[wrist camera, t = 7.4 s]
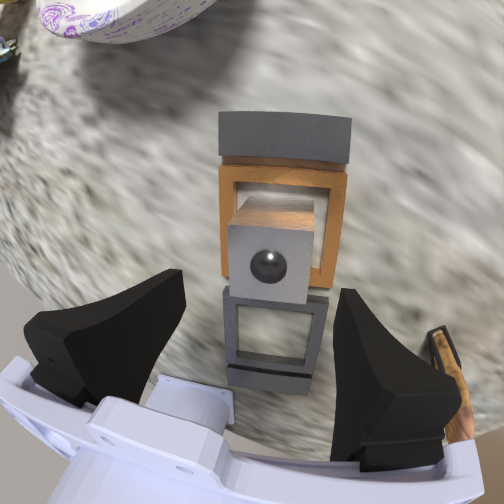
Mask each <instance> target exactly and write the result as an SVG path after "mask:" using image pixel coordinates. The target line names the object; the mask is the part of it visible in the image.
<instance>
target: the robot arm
mask: <svg viewBox="0 0 504 504" xmlns="http://www.w3.org/2000/svg"><path fill="white" fill-rule="evenodd" d="M185 308H186V299H185V291H184V283H183V275H182V270H178V269H168V270H165V271H163V272H161V273H159V274H157V275H155V276H153V277H151V278H149V279H147V280H145V281H143V282H142V283H140V284H138V285H136V286H134V287H131V288H129V289H127V290H125V291H123V292H121V293H119V294H116V295H114V296H111V297H109V298H106V299H103V300H100V301H97V302H94V303H90V304H86V305H83V306H79V307H74V308H69V309H63V310H54V311H43V312H39V313H37V314H36V315H35V316H34V317H33V318H32V319H31V320H30V321H29V322H28V323H27V324H25V326H24V336H25V339H26V341H27V343H28V345H29V347H30V349H31V350H32V352H33V354H34V356H35V358H36V359H37V361H38V363H39V364H38V365H37V366H36V367H34V366H33V364H32V363H30V362H29V361H27V360H26V359H24V358H23V357H21V356H19V355H17V356H16V357H15V358H14V359H13V360H12V361H11V363H9V364H8V366H7V367H6V368H5V369H4V370H3V371H2V372H1V373H0V402H1V403H2V405H3V406H4V407H5V408H6V410H7V411H8V412H9V413H10V414H11V415H12V416H13V418H14V419H15V420H16V421H17V422H19V423H20V424H21V425H22V426H23V427H25V428H26V429H27V430H29V431H30V432H31V433H32V434H33V435H35V436H36V437H37V438H39V439H40V440H41V441H42V442H44V443H45V444H46V445H48V446H49V447H50V448H52V449H53V450H54V451H56V452H57V453H58V454H60V455H61V456H63V457H64V458H66V459H67V460H69V461H70V464H69V465H68V467H67V469H66V470H65V472H64V474H63V475H62V477H61V479H60V481H59V483H58V484H57V486H56V487H55V489H54V491H53V493H52V495H51V496H50V498H49V500H48V502H47V503H46V504H467V503H469V502H471V501H473V500H474V499H476V498H478V497H480V496H481V495H483V493H484V487H483V480H482V474H481V469H480V463H479V459H478V454H477V449H476V445H475V441H474V439H468V440H464V441H459V442H454V443H450V444H448V445H446V446H444V447H443V446H442V441H441V440H443V439H444V437H445V433H444V427H445V426H446V425H447V424H448V423H449V422H450V420H451V419H452V418H453V417H454V416H455V415H456V413H457V412H458V410H459V409H460V407H461V404H462V397H461V394H460V391H459V388H458V385H457V382H456V380H455V378H454V377H452V376H450V375H448V374H446V373H444V372H442V371H440V370H438V369H436V368H434V367H433V366H431V365H430V364H428V363H426V362H425V361H423V360H422V359H420V358H419V357H417V356H416V355H415V354H413V353H412V352H411V351H410V350H408V349H407V348H406V347H405V346H403V345H402V344H401V343H400V342H399V341H398V340H397V339H396V338H395V337H394V336H392V335H391V334H390V332H389V331H388V330H387V329H386V328H385V327H384V326H383V325H382V324H381V323H380V321H379V320H378V319H377V318H376V317H375V315H374V314H373V313H372V312H371V310H370V309H369V308H368V306H367V305H366V304H365V302H364V301H363V299H362V298H361V297H360V295H359V294H358V292H357V291H356V290H355V289H348V288H341V293H340V298H339V302H338V307H337V311H336V316H335V320H334V325H333V350H334V361H335V373H336V390H337V394H336V411H335V423H334V433H333V441H332V449H331V455H330V461H309V460H295V459H286V458H277V457H269V456H262V455H255V454H249V453H244V452H238V451H233V450H230V446H229V444H228V443H227V442H226V440H225V439H224V437H223V436H222V435H223V432H224V429H225V426H226V424H234V422H235V418H234V402H233V392H232V391H231V390H228V389H222V388H217V387H213V386H208V385H203V384H199V383H194V382H190V381H186V380H182V379H178V378H174V377H170V376H166V375H163V374H159V375H158V380H159V381H158V383H157V384H156V386H155V388H154V390H153V392H152V394H151V395H150V397H149V399H148V401H147V403H146V404H145V406H142V405H139V401H140V398H141V396H142V393H143V390H144V387H145V385H146V383H147V380H148V378H149V376H150V373H151V371H152V369H153V367H154V364H155V362H156V360H157V359H158V357H159V355H160V353H161V352H162V350H163V349H164V347H165V345H166V344H167V342H168V340H169V339H170V337H171V336H172V334H173V332H174V331H175V329H176V327H177V326H178V324H179V322H180V320H181V318H182V316H183V313H184V311H185Z"/></svg>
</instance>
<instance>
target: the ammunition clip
mask: <svg viewBox="0 0 504 504" xmlns="http://www.w3.org/2000/svg"><path fill="white" fill-rule="evenodd" d="M428 338H429V345H430V354H431V363H432V366H433V367H434V368H436V369H438V370H440V371H442V372H444V373H446V374H448V375H450V376H452V377H454V378H455V380H456V382H457V385H458V388H459V391H460V394H461V397H462V404H461V407H460V409H459V410H458V412H457V413H456V415H455V416H454V417H453V418H452V419H451V420H450V422H449V423H448V424H447V425H446V426H445V427H444V428H445V432H446V437H447V441H448V443H449V444H450V443H454V442H459V441H464V440H468V439H473V438H474V432H475V425H474V417H473V412H472V409H471V404H470V400H469V392H468V388H467V385H466V383H465V380H464V377H463V374H462V372H461V362H460V360H459V357H458V355H457V352H456V350H455V347H454V345H453V342H452V340H451V338H450V336H449V333H448V331H447V329H446V327H445V325H443V326H441V327H439V328H436V329H434V330H431V331H429V332H428Z"/></svg>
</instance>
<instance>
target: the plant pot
mask: <svg viewBox="0 0 504 504" xmlns="http://www.w3.org/2000/svg"><path fill="white" fill-rule="evenodd" d="M17 1H19V0H0V4H5V3H13V2H17Z"/></svg>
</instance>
